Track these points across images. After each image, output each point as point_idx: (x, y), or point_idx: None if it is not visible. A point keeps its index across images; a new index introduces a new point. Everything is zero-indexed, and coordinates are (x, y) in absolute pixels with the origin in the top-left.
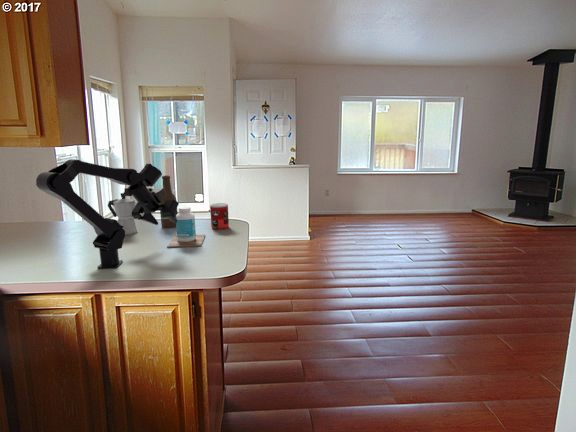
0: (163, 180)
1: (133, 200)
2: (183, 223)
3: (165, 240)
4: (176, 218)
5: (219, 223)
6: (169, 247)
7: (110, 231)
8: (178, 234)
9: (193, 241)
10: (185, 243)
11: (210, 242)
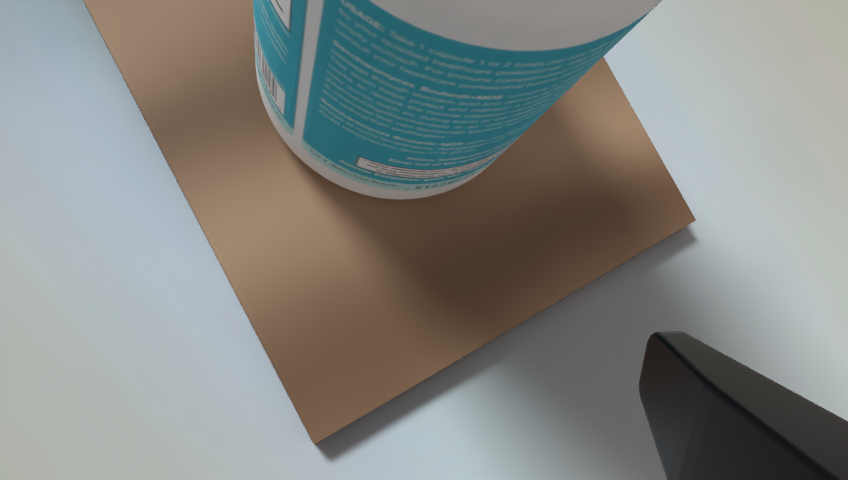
0: None
1: None
2: (563, 78)
3: (12, 110)
4: (769, 382)
5: None
6: (343, 424)
7: None
8: (363, 161)
9: None
10: (471, 220)
11: (673, 43)
